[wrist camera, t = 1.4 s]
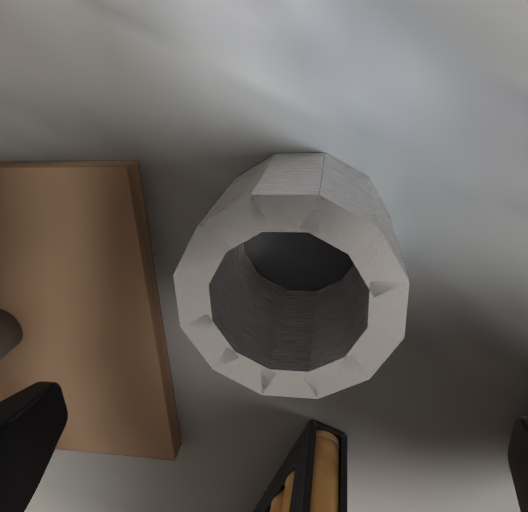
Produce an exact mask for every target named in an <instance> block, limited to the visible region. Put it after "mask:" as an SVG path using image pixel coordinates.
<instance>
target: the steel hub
mask: <svg viewBox="0 0 528 512" xmlns="http://www.w3.org/2000/svg"><path fill="white" fill-rule="evenodd" d="M262 232H309V233H310V234H312V235H314V236H316V237H318V238H320V239H321V240H323V241H325V242H327V243H329V244H330V245H332V246H334V247H336V248H338V249H339V250H341V251H343V252H345V253H347V254H348V255H349V256H350V258H351V260H352V261H353V263H354V264H353V266H352V267H351V268H350V270H349V271H348V273H347V274H346V276H345V277H344V278H343V279H341V280H339V281H337V282H335V283H333V284H330V285H328V286H326V287H324V288H322V289H320V290H318V291H303V290H286V289H284V288H282V287H280V286H279V285H277V284H275V283H273V282H271V281H269V280H267V279H266V278H264V277H262V276H261V275H260V274H259V272H258V271H257V270H256V268H255V267H254V265H253V264H252V262H251V261H250V259H249V258H248V256H247V255H246V253H245V250H244V242H245V241H247V240H249V239H251V238H252V237H254V236H256V235H258V234H260V233H262ZM173 278H174V285H175V293H176V300H177V307H178V314H179V322H180V327H181V329H182V330H183V331H184V333H185V334H186V335H187V337H188V338H189V339H190V341H191V342H192V343H193V344H194V346H195V347H196V348H197V350H198V351H199V352H200V354H201V355H202V356H203V358H204V359H205V360H206V361H207V363H208V364H209V365H210V367H211V368H212V369H213V370H214V371H216V372H218V373H220V374H222V375H224V376H226V377H228V378H230V379H232V380H234V381H236V382H238V383H239V384H241V385H243V386H245V387H247V388H249V389H251V390H253V391H255V392H257V393H259V394H261V395H267V396H281V397H295V398H310V399H319V398H322V397H325V396H327V395H330V394H333V393H335V392H338V391H340V390H343V389H346V388H348V387H351V386H354V385H356V384H359V383H362V382H364V381H367V380H369V379H370V378H371V377H372V376H373V375H374V374H375V372H376V371H377V370H378V369H379V368H380V366H381V365H382V364H383V363H384V362H385V360H386V359H387V358H388V357H389V356H390V354H391V353H392V352H393V351H394V350H395V348H396V347H397V346H398V345H399V344H400V342H401V341H402V340H403V339H404V336H405V326H406V315H407V305H408V295H409V284H410V282H409V278H408V275H407V272H406V268H405V265H404V262H403V258H402V255H401V251H400V248H399V245H398V241H397V238H396V235H395V231H394V228H393V225H392V221H391V218H390V216H389V214H388V212H387V211H386V209H385V207H384V205H383V203H382V201H381V200H380V198H379V196H378V194H377V192H376V191H375V189H374V187H373V185H372V183H371V182H370V180H369V178H368V177H367V176H365V175H363V174H362V173H360V172H358V171H356V170H355V169H353V168H351V167H349V166H347V165H346V164H344V163H342V162H340V161H339V160H337V159H335V158H333V157H332V156H330V155H328V154H326V153H276V154H274V155H273V156H271V157H269V158H268V159H266V160H264V161H263V162H261V163H259V164H258V165H256V166H254V167H253V168H251V169H249V170H248V171H246V172H245V173H243V174H241V175H240V176H238V177H236V178H235V180H234V181H233V182H232V183H231V185H230V186H229V187H228V188H227V190H226V191H225V192H224V193H223V194H222V196H221V197H220V198H219V199H218V201H217V202H216V203H215V204H214V206H213V207H212V208H211V209H210V211H209V212H208V213H207V214H206V216H205V217H204V218H203V219H202V221H201V222H200V223H199V224H198V226H197V227H196V229H195V231H194V233H193V236H192V238H191V240H190V242H189V244H188V246H187V248H186V250H185V252H184V254H183V256H182V258H181V260H180V262H179V264H178V266H177V268H176V270H175V272H174V274H173Z"/></svg>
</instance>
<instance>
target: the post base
mask: <svg viewBox="0 0 528 512" xmlns="http://www.w3.org/2000/svg"><path fill="white" fill-rule="evenodd" d="M39 381H48V382H56V383H58V384H59V385H60V386H61V389H62V392H63V396H64V400H65V403H66V407H67V410H68V420H67V423H66V426H65V428H64V430H63V433H62V435H61V437H60V439H59V441H58V443H57V446H56V448H55V449H61V450H71V451H82V452H92V453H103V454H114V455H124V456H135V457H145V458H156V459H166V460H175V459H176V457H177V454H178V452H179V449H180V447H181V444H182V443H181V437H180V431H179V424H178V418H177V411H176V405H175V398H174V392H173V385H172V379H171V372H170V366H169V359H168V353H167V347H166V340H165V334H164V327H163V321H162V314H161V308H160V301H159V295H158V288H157V282H156V276H155V269H154V263H153V256H152V250H151V243H150V237H149V230H148V224H147V217H146V211H145V204H144V198H143V192H142V185H141V179H140V172H139V166H138V161H52V162H0V401H2V400H4V399H6V398H8V397H10V396H11V395H13V394H15V393H17V392H19V391H21V390H23V389H25V388H27V387H29V386H30V385H32V384H34V383H36V382H39Z"/></svg>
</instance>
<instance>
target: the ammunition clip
mask: <svg viewBox="0 0 528 512" xmlns="http://www.w3.org/2000/svg"><path fill="white" fill-rule="evenodd" d="M253 512H347V435H345V434H343V433H340V432H338V431H336V430H333V429H331V428H329V427H326V426H324V425H322V424H319V423H317V422H315V421H309V423H308V424H307V426H306V427H305V429H304V431H303V432H302V434H301V435H300V437H299V439H298V440H297V442H296V443H295V445H294V447H293V448H292V450H291V452H290V453H289V455H288V456H287V458H286V460H285V461H284V463H283V464H282V466H281V468H280V469H279V471H278V472H277V474H276V476H275V477H274V479H273V481H272V482H271V484H270V485H269V487H268V489H267V490H266V492H265V493H264V495H263V497H262V498H261V500H260V501H259V503H258V505H257V506H256V508H255V509H254V511H253Z"/></svg>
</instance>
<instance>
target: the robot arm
mask: <svg viewBox="0 0 528 512" xmlns="http://www.w3.org/2000/svg"><path fill="white" fill-rule="evenodd" d="M67 420H68V410H67V407H66V403H65V400H64V396H63V392H62V389H61V386H60V385H59V384H58V383H56V382H48V381H39V382H36V383H34V384H32V385H30V386H29V387H27V388H25V389H23V390H21V391H19V392H17V393H15V394H13V395H11V396H10V397H8V398H6V399H4V400H2V401H0V512H24V511H25V509H26V507H27V506H28V504H29V502H30V500H31V498H32V496H33V495H34V493H35V491H36V489H37V487H38V485H39V483H40V481H41V478H42V476H43V474H44V472H45V470H46V468H47V465H48V463H49V461H50V459H51V457H52V454H53V452H54V450H55V448H56V446H57V443H58V441H59V439H60V437H61V435H62V433H63V430H64V428H65V426H66V423H67ZM508 462H509V466H510V470H511V474H512V478H513V482H514V486H515V490H516V495H517V499H518V503H519V507H520V511H521V512H528V416H519V417H517V418H516V420H515V422H514V426H513V430H512V434H511V439H510V443H509V448H508Z"/></svg>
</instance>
